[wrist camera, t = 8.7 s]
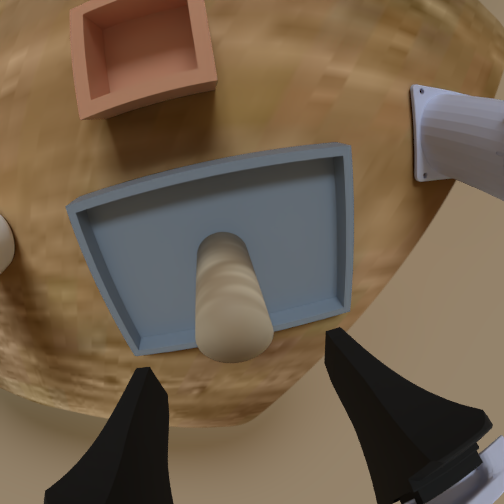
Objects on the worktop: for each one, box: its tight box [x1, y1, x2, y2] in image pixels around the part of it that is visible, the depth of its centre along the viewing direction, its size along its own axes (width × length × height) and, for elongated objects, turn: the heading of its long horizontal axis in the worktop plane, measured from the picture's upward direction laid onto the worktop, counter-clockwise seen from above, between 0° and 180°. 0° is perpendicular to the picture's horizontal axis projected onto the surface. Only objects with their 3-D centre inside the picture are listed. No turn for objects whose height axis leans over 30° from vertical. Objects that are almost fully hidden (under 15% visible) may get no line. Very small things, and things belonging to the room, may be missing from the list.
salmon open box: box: [70, 0, 218, 120], centre depth 11 cm, size 7×7×4 cm
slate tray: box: [66, 142, 354, 356], centre depth 19 cm, size 18×13×2 cm
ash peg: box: [195, 232, 274, 363], centre depth 15 cm, size 4×4×8 cm
